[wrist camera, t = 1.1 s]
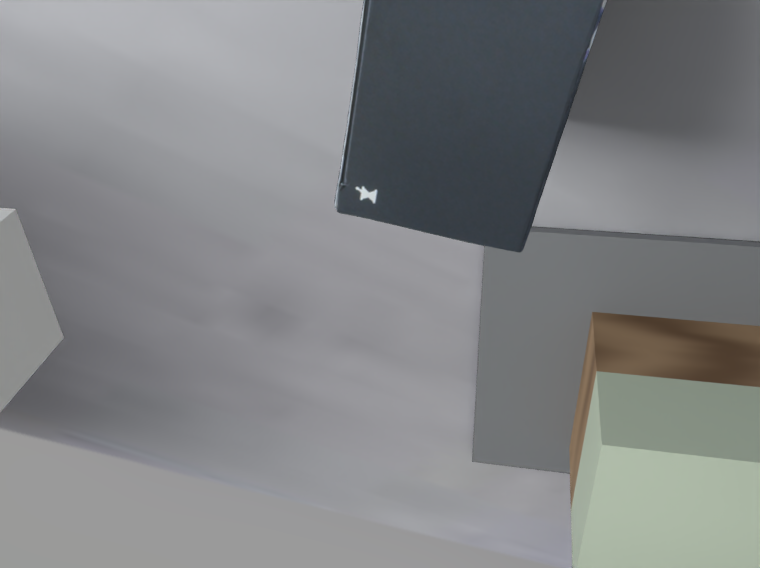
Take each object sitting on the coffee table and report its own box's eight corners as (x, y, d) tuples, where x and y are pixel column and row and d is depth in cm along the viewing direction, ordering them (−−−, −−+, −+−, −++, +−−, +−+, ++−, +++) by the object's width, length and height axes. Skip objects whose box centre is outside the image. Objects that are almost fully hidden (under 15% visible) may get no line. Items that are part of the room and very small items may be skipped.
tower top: (570, 510, 35) (572, 586, 32) (596, 371, 30) (601, 444, 27) (772, 537, 33) (795, 619, 30) (836, 394, 28) (872, 476, 25)
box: (531, 113, 29) (522, 262, 20) (391, 81, 29) (325, 214, 21) (599, -108, 24) (624, -35, 15) (431, -143, 24) (366, -90, 16)
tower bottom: (569, 447, 38) (570, 510, 35) (592, 311, 33) (596, 371, 30) (753, 469, 37) (772, 537, 33) (807, 330, 31) (836, 394, 28)
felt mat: (472, 456, 41) (472, 461, 40) (486, 224, 32) (485, 228, 32) (761, 491, 38) (763, 497, 38) (862, 248, 29) (865, 254, 29)
